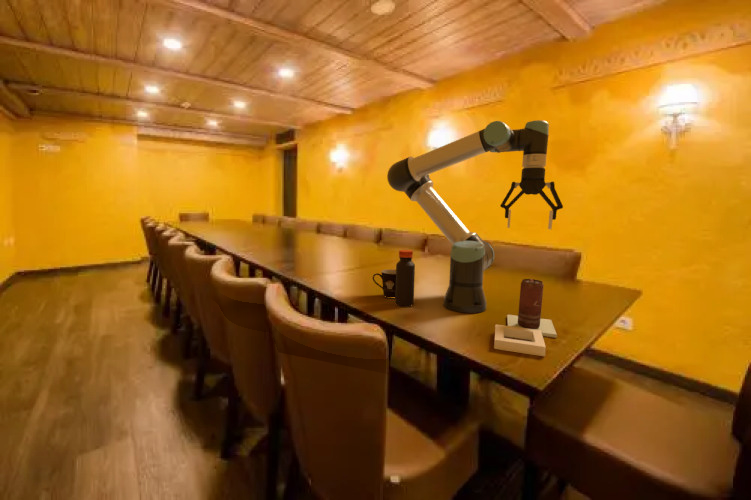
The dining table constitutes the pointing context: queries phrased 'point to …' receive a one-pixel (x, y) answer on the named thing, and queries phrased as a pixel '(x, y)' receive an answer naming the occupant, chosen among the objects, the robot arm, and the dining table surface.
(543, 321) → the rubber mat
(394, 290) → the coffee mug
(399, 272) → the bottle
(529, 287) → the can
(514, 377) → the dining table surface
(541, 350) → the cup holder
